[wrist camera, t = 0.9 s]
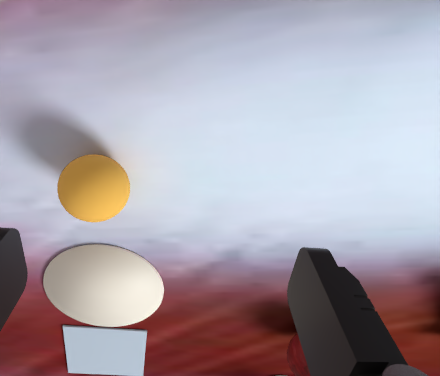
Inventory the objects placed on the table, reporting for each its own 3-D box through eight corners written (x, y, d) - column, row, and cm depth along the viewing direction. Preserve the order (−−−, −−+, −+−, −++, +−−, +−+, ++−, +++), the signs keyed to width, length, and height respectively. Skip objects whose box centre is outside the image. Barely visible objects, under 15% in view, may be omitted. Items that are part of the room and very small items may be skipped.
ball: (69, 139, 27) (41, 170, 23) (136, 148, 28) (123, 180, 23) (73, 194, 30) (49, 232, 25) (134, 201, 31) (121, 239, 26)
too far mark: (63, 325, 39) (62, 326, 39) (147, 330, 41) (146, 331, 41) (68, 371, 45) (68, 372, 44) (143, 374, 46) (142, 376, 46)
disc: (37, 238, 32) (36, 239, 32) (168, 250, 34) (168, 251, 34) (49, 321, 39) (49, 323, 39) (159, 328, 41) (159, 329, 41)
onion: (278, 343, 44) (292, 409, 37) (286, 315, 41) (303, 381, 34) (320, 343, 44) (342, 408, 37) (331, 315, 41) (357, 381, 34)
